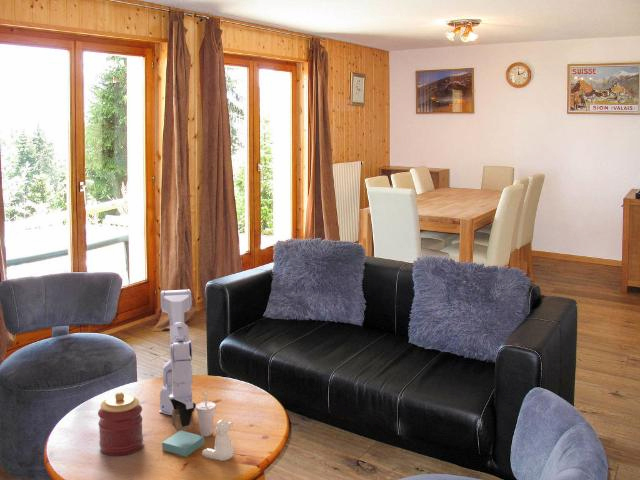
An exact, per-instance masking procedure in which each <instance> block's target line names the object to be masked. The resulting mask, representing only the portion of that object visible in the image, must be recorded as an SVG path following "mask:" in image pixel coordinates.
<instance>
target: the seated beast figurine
mask: <svg viewBox="0 0 640 480" xmlns="http://www.w3.org/2000/svg"><path fill="white" fill-rule="evenodd" d="M233 424H234V422H233V421H229V422H228V420H227V419H220V420H219V421H218V420H217V423H216V424H215V426H214V428H213V429H214V430H213V432H214V433H215V434H216V435H215V438H214V446H213V447H214V448H212V447H211V448H210V447H206V448H205V449H203V450H202V453H201V454H202V456H203V457H204V458H205V459H211V460H215V461H220V462H223V461H224V462H225V461H228V460H230V459H231V458H232V457H234V453H235V448H234V446H233V444H232V439H231V437H230V434H229V431H230V428H231V427H232V426H233Z"/></svg>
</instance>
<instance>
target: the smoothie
mask: <svg viewBox="0 0 640 480" xmlns="http://www.w3.org/2000/svg"><path fill="white" fill-rule="evenodd" d="M216 406H217V405H216V403H215V402H212V401H208V393H207V392H205V393H204V401H201V402H198V403H196V407H195V411H196V415H197V421H198V428H199V435H200V436H204V437H209V436H212V434H213V429H214V428H213V427H214V417H215V410H216Z"/></svg>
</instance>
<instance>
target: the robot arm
mask: <svg viewBox="0 0 640 480" xmlns="http://www.w3.org/2000/svg"><path fill="white" fill-rule="evenodd" d="M192 305H193V304H192V291H191V290H190V289H189V288H187V289H174V290H164V289H163V290H161V291H160V307H161V311H162V313H166V314H167V315H168V317H169V338H170V342H169V360H168V361H166V362H165V363H164V364H163V366H162V370H163V371H162V385H163V386H162V387H161V388H160V393H159V405H160V406H159V409H160V410H158V412H159V413H160V414H165V415H168V416H172V410H174V409H178V411H179V414H180V419H181V424H182V426H183V427H184V426H188V425H189V424H190V420H191V416H192V415H193V412H194V410H196V405H197V403H195V402H194V401H193V392H192V391H193V390H192V385H193V367H192V360H193V357H194V356H193V355H194V354H193V352H194V351H193V343H192V341H191V338H190V332H189V331H190V330H189V326H188V325H187V324H186V323H185V313H186V312H188V311H190V309H191V308H192Z"/></svg>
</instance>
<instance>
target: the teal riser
mask: <svg viewBox="0 0 640 480" xmlns="http://www.w3.org/2000/svg"><path fill="white" fill-rule="evenodd" d="M204 444H205V436H202V435H200V434H196V433H192V432H188V431H186V430H182V431H176V433H173V434H172V435H171V436H169V437H168V438H166V439H165V440H164V441H162V442H161V448H162V451H166V452H168V453H171V454H175V455H178V456H183V457H188V456H189V455H190V454H192V453H194V452H195V451H196V450H198V449H199V448H201V447H202V446H203V445H204Z"/></svg>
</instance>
